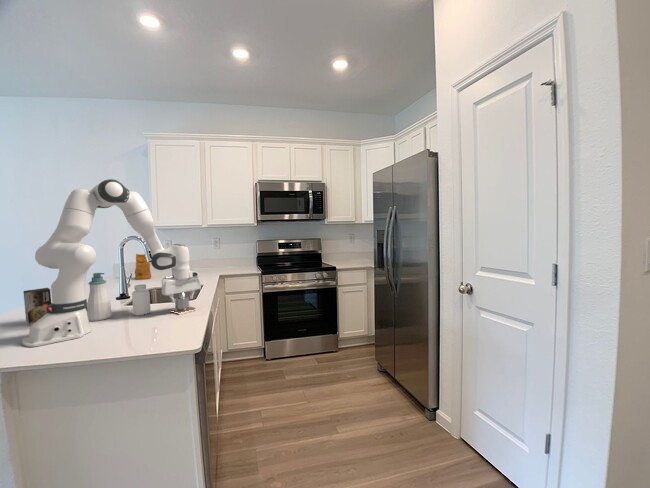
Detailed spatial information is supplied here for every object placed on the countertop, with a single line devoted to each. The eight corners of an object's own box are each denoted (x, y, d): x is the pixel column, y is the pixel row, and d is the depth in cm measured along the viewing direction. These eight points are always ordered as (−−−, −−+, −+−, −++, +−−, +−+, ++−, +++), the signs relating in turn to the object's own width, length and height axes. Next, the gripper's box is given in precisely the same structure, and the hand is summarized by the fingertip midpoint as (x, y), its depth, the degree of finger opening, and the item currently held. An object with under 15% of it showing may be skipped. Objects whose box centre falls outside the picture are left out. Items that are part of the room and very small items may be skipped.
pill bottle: (131, 316, 162) (129, 287, 161) (135, 312, 169) (134, 284, 168) (148, 314, 164) (146, 286, 163) (152, 310, 171) (150, 283, 170)
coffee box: (50, 319, 159) (48, 287, 158) (53, 321, 155) (50, 288, 154) (25, 323, 152) (23, 290, 151) (28, 326, 148) (25, 292, 147)
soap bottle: (99, 321, 153) (96, 274, 152) (82, 321, 155) (79, 274, 154) (116, 316, 163) (113, 271, 161) (100, 315, 165) (97, 271, 163)
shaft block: (179, 314, 163) (178, 294, 162) (170, 312, 168) (169, 292, 167) (195, 310, 170) (194, 291, 169) (186, 308, 175) (185, 289, 175)
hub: (180, 309, 165) (179, 299, 164) (173, 307, 168) (173, 298, 168) (191, 306, 170) (190, 297, 169) (184, 305, 173) (184, 296, 173)
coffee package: (136, 278, 283) (134, 253, 281) (152, 277, 287) (150, 253, 286) (134, 280, 274) (132, 254, 272) (150, 279, 278) (149, 254, 277)
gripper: (164, 278, 158) (166, 305, 158) (201, 272, 174) (202, 297, 175) (158, 277, 161) (159, 303, 162) (195, 271, 178) (196, 296, 179)
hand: (182, 300), depth 169 cm, fingers open, 8 cm apart
